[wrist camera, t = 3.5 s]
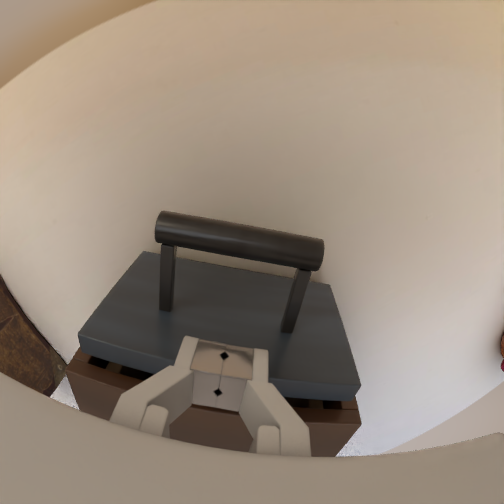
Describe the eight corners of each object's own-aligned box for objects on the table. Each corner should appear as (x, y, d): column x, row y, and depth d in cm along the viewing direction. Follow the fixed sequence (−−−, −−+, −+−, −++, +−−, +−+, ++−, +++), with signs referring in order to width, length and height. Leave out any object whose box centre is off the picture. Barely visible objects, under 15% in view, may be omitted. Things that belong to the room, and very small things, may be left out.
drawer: (147, 177, 17) (61, 228, 9) (351, 215, 18) (411, 291, 10) (148, 395, 26) (122, 471, 18) (277, 418, 26) (277, 499, 18)
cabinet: (139, 264, 21) (64, 369, 11) (328, 298, 21) (362, 423, 12) (147, 403, 28) (118, 488, 18) (276, 426, 28) (276, 516, 18)
